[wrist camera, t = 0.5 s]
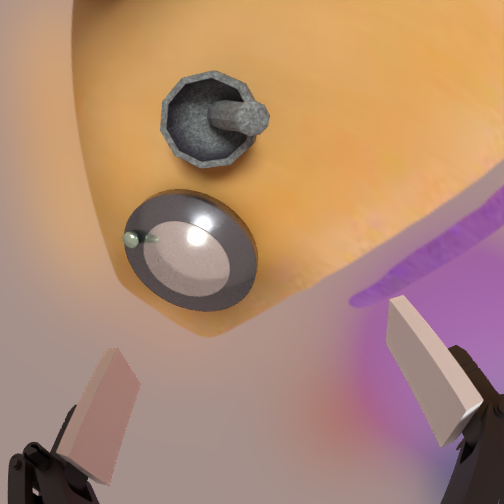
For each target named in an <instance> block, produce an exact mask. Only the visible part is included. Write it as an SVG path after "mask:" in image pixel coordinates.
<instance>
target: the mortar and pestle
mask: <svg viewBox="0 0 504 504" xmlns="http://www.w3.org/2000/svg"><path fill="white" fill-rule="evenodd" d="M269 117H270V115H269V113H268V111H267V109H266V107H265V105H263V104H261V103H259V102H257V101H255V99H254V97H253V95H252V93H251V91H250V90H249V88H248V86H247V84H246V83H243V82H241V81H239V80H237V79H235V78H232V77H230V76H228V75H226V74H223V73H221V72H218V71H209V72H204V73H200V74H196V75H192V76H188V77H184V78H182V79H181V80H180V81H179V82H178V83H177V84H176V86H175V87H174V88H173V89H172V90H171V92H170V93H169V94H168V95H167V96H166V98H165V99H164V100H163V101H162V112H161V126H160V131H161V133H162V135H163V136H164V138H165V140H166V141H167V143H168V145H169V147H170V148H171V150H172V152H173V153H174V155H175V156H177V157H179V158H181V159H183V160H185V161H187V162H189V163H191V164H193V165H195V166H197V167H199V168H201V169H202V168H209V167H217V166H225V165H231V164H232V163H233V162H234V161H235V160H236V159H237V158H238V157H239V156H240V155H242V154H243V153H244V152H245V151H246V150H247V149H248V148H249V147H250V146H251V145H252V144H253V143H254V142H255V140H256V135H258V134H261V133H262V132H263V131H264V130H265V129H266V128H267V127H268V123H269Z"/></svg>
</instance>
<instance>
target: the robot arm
mask: <svg viewBox="0 0 504 504" xmlns="http://www.w3.org/2000/svg"><path fill="white" fill-rule="evenodd" d="M386 345H387V347H388V348H389V350H390V352H391V354H392V355H393V357H394V359H395V361H396V362H397V364H398V366H399V368H400V369H401V371H402V373H403V375H404V377H405V379H406V380H407V382H408V384H409V386H410V388H411V390H412V391H413V393H414V395H415V397H416V399H417V401H418V403H419V405H420V407H421V409H422V411H423V413H424V415H425V417H426V419H427V421H428V423H429V425H430V427H431V429H432V431H433V433H434V435H435V437H436V439H437V441H438V444H439V446H440V447H444V446H445V445H447V444H449V443H451V442H453V441H454V440H456V439H457V438H458V437H459V435H460V434H461V433H462V434H463V435H464V439H463V440H462V441H461V442H460V444H459V445H458V446H457V449H456V450H459V448H460V447H461V449H460V452H459V456H458V459H457V462H456V465H455V468H454V471H453V474H452V476H451V479H450V482H449V485H448V487H447V490H446V492H445V494H444V497H443V499H442V501H441V504H498V501H499V504H504V394H501V395H500V394H498V392H497V391H496V390H495V389H494V387H493V386H492V385H491V383H490V382H489V380H488V379H487V378H486V376H485V375H484V374H483V372H482V371H481V370H480V368H478V366H477V364H476V363H475V362H474V361H473V360H472V358H471V357H470V355H469V354H468V353H467V351H465V350H464V349H462V348H460V347H459V346H457V345H455V346H453V347H450V348H448V349H447V348H446V346H445V345H444V344H443V342H442V341H441V340H440V339H439V337H438V336H437V335H436V334H435V332H434V331H433V330H432V329H431V327H430V326H429V325H428V324H427V322H426V321H425V320H424V319H423V317H422V316H421V315H420V314H419V313H418V312H417V310H416V309H415V308H414V307H413V306H412V304H411V303H410V302H409V301H408V300H407V299H406V297H404V295H402V296H399V297H395V298H392V299H389V312H388V324H387V334H386ZM140 385H141V383H140V381H139V380H138V378H137V377H136V375H135V374H134V372H133V371H132V369H131V368H130V366H129V365H128V363H127V361H126V360H125V358H124V357H123V355H122V354H121V352H120V350H119V348H107V349H106V350H105V353H104V354H103V356H102V358H101V360H100V362H99V363H98V365H97V367H96V369H95V371H94V373H93V375H92V377H91V378H90V380H89V382H88V384H87V386H86V388H85V390H84V392H83V394H82V396H81V398H80V400H79V402H78V404H77V405H75V406H74V407H73V408H72V409H71V410H70V411H69V412H68V414H67V417H66V418H65V422H64V423H63V425H62V429H60V432H59V434H58V436H57V438H56V441H55V443H54V445H53V447H52V450H51V452H50V453H49V452H48V451H47V450H46V449H44V448H43V447H42V446H41V445H40V444H39V443H37V442H31V443H29V444H28V445H27V446H26V447H25V448H24V450H23V454H15V455H13V456H12V458H11V459H10V462H9V472H8V504H99V502H98V500H97V497H96V495H95V493H94V491H93V488H92V486H91V484H90V483H89V482H88V481H87V480H88V477H89V478H90V479H92V480H94V481H95V482H97V483H100V484H104V485H107V486H109V485H110V482H111V478H112V474H113V471H114V467H115V464H116V460H117V457H118V453H119V450H120V447H121V444H122V440H123V437H124V434H125V431H126V427H127V424H128V421H129V418H130V415H131V412H132V409H133V406H134V403H135V400H136V397H137V394H138V391H139V389H140ZM32 488H34V489H35V490H37V491H38V492H39V495H38V496H37V495H36V494H34V493H33V491H32ZM499 498H500V500H499Z"/></svg>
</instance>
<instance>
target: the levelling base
mask: <svg viewBox="0 0 504 504" xmlns="http://www.w3.org/2000/svg"><path fill="white" fill-rule="evenodd" d="M123 242H124V245H125V251H126V255H127V258H128V260H129V263H130V265H131V267H132V268H133V270H134V272H135V273H136V275H137V276H138V277H139V279H140V280H141V281H142V282H143V283H144V284H145V285H146V286H147V287H148V288H149V289H150V290H151V291H153V292H154V293H155V294H157V295H158V296H159V297H161V298H163V299H164V300H166V301H168V302H170V303H172V304H174V305H177V306H179V307H182V308H186V309H190V310H195V311H218V310H222V309H226V308H229V307H231V306H233V305H235V304H237V303H238V302H240V301H241V300H242V299H243V298H244V297H245V296H246V295H247V294H248V293H249V291H250V289H251V288H252V285H253V283H254V280H255V276H256V272H257V267H258V252H257V247H256V244H255V241H254V238H253V236H252V234H251V232H250V230H249V229H248V227H247V225H246V224H245V223H244V222H243V220H242V219H241V218H240V217H239V216H238V215H237V214H236V213H235V212H234V211H233V210H232V209H230V208H229V207H228V206H227V205H225V204H224V203H222V202H221V201H219V200H217V199H215V198H213V197H211V196H209V195H207V194H203V193H200V192H197V191H192V190H184V189H175V190H167V191H163V192H160V193H157V194H155V195H153V196H151V197H150V198H148V199H147V200H145V201H144V202H143V203H142V204H141V205H140V206H139V207H138V208H137V209H136V210H135V211H134V212H133V213H132V215H131V216H130V218H129V220H128V222H127V224H126V228H125V233H124V236H123Z"/></svg>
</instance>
